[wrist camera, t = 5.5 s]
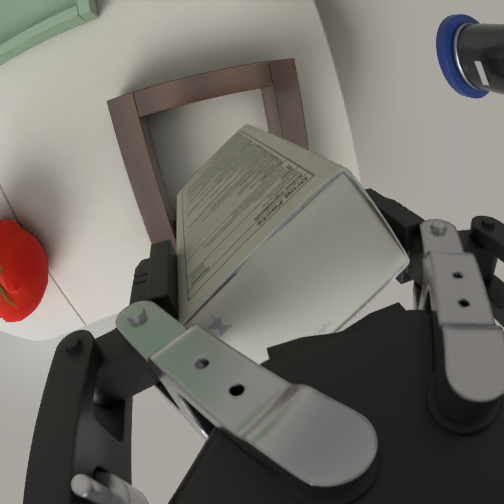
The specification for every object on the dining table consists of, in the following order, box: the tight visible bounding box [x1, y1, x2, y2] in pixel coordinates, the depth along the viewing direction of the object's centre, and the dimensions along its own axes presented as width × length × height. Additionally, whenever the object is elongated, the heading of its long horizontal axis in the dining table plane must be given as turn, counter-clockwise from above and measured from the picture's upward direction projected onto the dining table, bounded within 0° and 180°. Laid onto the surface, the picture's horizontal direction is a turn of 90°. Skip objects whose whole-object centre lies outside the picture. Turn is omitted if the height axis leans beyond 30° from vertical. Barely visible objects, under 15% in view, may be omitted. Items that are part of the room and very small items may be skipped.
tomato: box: [0, 219, 48, 322], centre depth 23 cm, size 9×9×8 cm
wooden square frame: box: [107, 58, 309, 255], centre depth 25 cm, size 14×14×4 cm
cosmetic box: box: [177, 124, 410, 364], centre depth 14 cm, size 6×4×12 cm
